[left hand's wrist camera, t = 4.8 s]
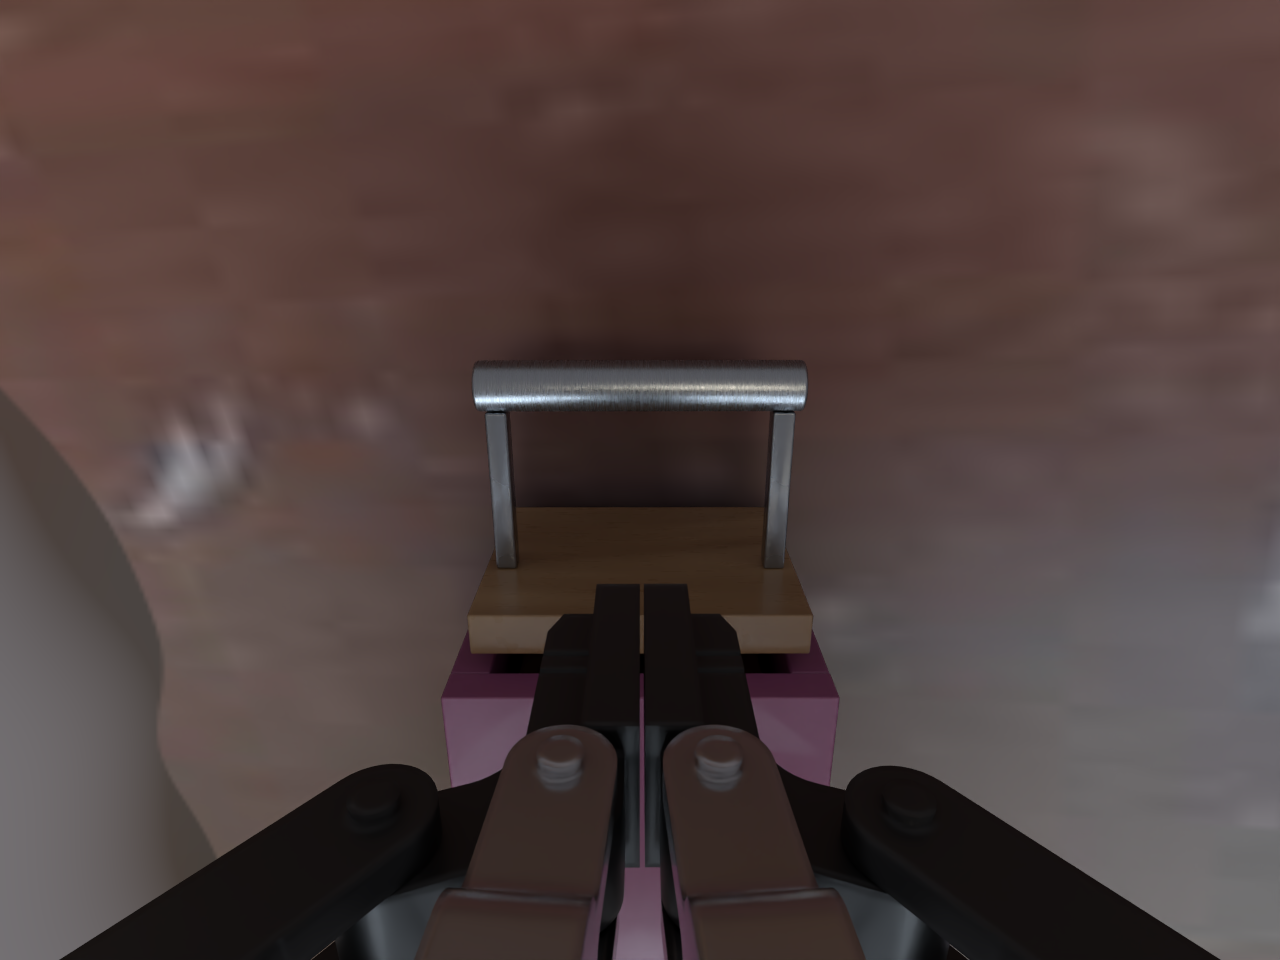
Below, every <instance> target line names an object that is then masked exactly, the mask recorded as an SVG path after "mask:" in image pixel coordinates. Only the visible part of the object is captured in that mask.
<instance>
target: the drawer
mask: <svg viewBox="0 0 1280 960" xmlns="http://www.w3.org/2000/svg"><path fill="white" fill-rule="evenodd" d="M472 395H473V401H474V405H475V407H476V409H477V410H478V411H487V412H486V413H485V425H486V438H487V451H488V463H489V476H490V489H491V501H492V514H493V527H494V539H495V549H494V551H493V554H492V556H491V559H490V561H489V564H488V566H487V569H486V571H485V573H484V576H483V578H482V581H481V583H480V586H479V588H478V591H477V593H476V596H475V598H474V601H473V603H472V605H471V608H470V610H469V613H468V615H467V620H468V630H469V640H470V651H471V653H472V654H524V656H523V659H522V663H521V667H520V671H519V673H540V666H541V661H542V656H543V652H544V647H545V642H546V637H547V632H548V631H549V629H550V628H551V627H552V626H553V625H554V624H555V623H556V622H557V621H558V620H559V619H560V618H561V617H562V616H563V614H593V611H594V602H595V593H596V585H597V584H640V673H644V584H687V586H688V594H689V602H690V611H691V614H720V615H721V616H722V617H723V618H724V619H725V620H726V621H727V622H728V623H729V624H730V625H731V626H732V627H733V628H734V629H735V630H736V632H737V637H738V641H739V646H740V651H741V656H742V660H743V665H744V673H762V672H761V668H760V664H759V660H758V656H757V654H808V653H809V652H810V645H811V634H812V624H813V614H812V612H811V609H810V607H809V604H808V602H807V599H806V597H805V594H804V592H803V589H802V587H801V584H800V582H799V579H798V577H797V575H796V572H795V570H794V567H793V565H792V562H791V560H790V557H789V555H788V552H787V550H786V547H785V546H786V533H787V520H788V507H789V493H790V480H791V467H792V454H793V441H794V428H795V415H796V414H795V412H794V411H801V410H803V409H804V407H805V404H806V401H807V395H808V372H807V367H806V364H805V362H804V361H803V360H478V361H476V362H475V364H474V367H473V371H472ZM510 411H770V423H769V439H768V455H767V471H766V486H765V502H764V507H516V500H515V485H514V469H513V454H512V439H511V424H510Z"/></svg>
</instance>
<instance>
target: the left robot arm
mask: <svg viewBox="0 0 1280 960" xmlns="http://www.w3.org/2000/svg"><path fill="white" fill-rule="evenodd" d="M644 814H645V867H660V879H661V934H662V943H663V953H664V960H968V959H969V960H1220V959H1218V958H1217V957H1215V956H1214V955H1212V954H1211V953H1209V952H1208V951H1206V950H1204V949H1203V948H1201V947H1200V946H1198V945H1197V944H1195V943H1193V942H1192V941H1190V940H1189V939H1187V938H1186V937H1184V936H1182V935H1181V934H1179V933H1178V932H1176V931H1175V930H1173V929H1171V928H1170V927H1168V926H1167V925H1165V924H1164V923H1162V922H1161V921H1159V920H1157V919H1156V918H1154V917H1153V916H1151V915H1150V914H1148V913H1146V912H1145V911H1143V910H1142V909H1140V908H1139V907H1137V906H1135V905H1134V904H1132V903H1131V902H1129V901H1128V900H1126V899H1125V898H1123V897H1121V896H1120V895H1118V894H1117V893H1115V892H1114V891H1112V890H1110V889H1109V888H1107V887H1106V886H1104V885H1103V884H1101V883H1099V882H1098V881H1096V880H1095V879H1093V878H1092V877H1090V876H1088V875H1087V874H1085V873H1084V872H1082V871H1081V870H1079V869H1078V868H1076V867H1074V866H1073V865H1071V864H1070V863H1068V862H1067V861H1065V860H1063V859H1062V858H1060V857H1059V856H1057V855H1056V854H1054V853H1052V852H1051V851H1049V850H1048V849H1046V848H1045V847H1043V846H1042V845H1040V844H1038V843H1037V842H1035V841H1034V840H1032V839H1031V838H1029V837H1027V836H1026V835H1024V834H1023V833H1021V832H1020V831H1018V830H1016V829H1015V828H1013V827H1012V826H1010V825H1009V824H1007V823H1005V822H1004V821H1002V820H1001V819H999V818H998V817H996V816H995V815H993V814H991V813H990V812H988V811H987V810H985V809H984V808H982V807H980V806H979V805H977V804H976V803H974V802H973V801H971V800H969V799H968V798H966V797H965V796H963V795H962V794H960V793H959V792H957V791H955V790H954V789H952V788H951V787H949V786H948V785H946V784H944V783H943V782H941V781H939V780H938V779H936V778H934V777H932V776H930V775H928V774H926V773H923V772H921V771H917V770H914V769H911V768H906V767H900V766H879V767H873V768H870V769H867V770H864V771H862V772H861V773H859V774H857V775H856V776H855V777H854V778H853V779H852V780H851V781H850V783H849V784H848V786H847V789H846V790H842V789H838V788H834V787H830V786H826V785H822V784H818V783H814V782H811V781H808V780H805V779H802V778H800V777H798V776H795V775H793V774H792V773H790V772H788V771H786V770H785V769H783V768H782V767H781V766H779V765H778V764H777V763H776V762H775V759H774V757H773V755H772V752H771V751H770V750H769V748H768V747H767V746H766V745H765V744H764V743H763V742H762V741H761V740H760V738H759V734H758V729H757V725H756V720H755V715H754V711H753V706H752V702H751V697H750V692H749V688H748V683H747V678H746V674H745V673H744V665H743V660H742V656H741V651H740V646H739V641H738V637H737V632H736V630H735V629H734V628H733V627H732V626H731V625H730V624H729V623H728V622H727V621H726V620H725V619H724V618H723V617H722V616H721V615H720V614H691V611H690V602H689V594H688V586H687V584H644ZM625 868H640V584H597V585H596V593H595V602H594V611H593V614H563V616H562V617H561V618H560V619H559V620H558V621H557V622H556V623H555V624H554V625H553V626H552V627H551V628H550V629H549V631H548V632H547V637H546V642H545V647H544V652H543V656H542V661H541V666H540V673H539V676H538V680H537V685H536V690H535V695H534V700H533V705H532V709H531V714H530V719H529V724H528V729H527V734H526V736H525V737H523V738H522V739H520V740H519V741H518V742H517V743H516V744H515V745H514V746H513V747H512V748H511V750H510V751H509V752H508V755H507V757H506V759H505V762H504V765H503V768H502V769H501V770H499V771H498V772H496V773H494V774H492V775H491V776H488V777H486V778H484V779H481V780H479V781H475V782H472V783H469V784H465V785H461V786H457V787H453V788H449V789H445V790H441V791H437V788H436V785H435V783H434V781H433V780H432V778H431V777H430V776H429V775H428V774H426V773H425V772H423V771H422V770H420V769H418V768H415V767H412V766H408V765H403V764H385V765H378V766H373V767H369V768H366V769H363V770H360V771H358V772H355V773H353V774H351V775H349V776H347V777H345V778H344V779H342V780H340V781H339V782H337V783H336V784H334V785H332V786H331V787H329V788H328V789H326V790H325V791H323V792H322V793H320V794H318V795H317V796H315V797H314V798H312V799H311V800H309V801H307V802H306V803H304V804H303V805H301V806H300V807H298V808H296V809H295V810H293V811H292V812H290V813H289V814H287V815H285V816H284V817H282V818H281V819H279V820H278V821H276V822H275V823H273V824H271V825H270V826H268V827H267V828H265V829H264V830H262V831H260V832H259V833H257V834H256V835H254V836H253V837H251V838H249V839H248V840H246V841H245V842H243V843H242V844H240V845H239V846H237V847H235V848H234V849H232V850H231V851H229V852H228V853H226V854H224V855H223V856H221V857H220V858H218V859H217V860H215V861H214V862H212V863H210V864H209V865H207V866H206V867H204V868H203V869H201V870H199V871H198V872H196V873H195V874H193V875H192V876H190V877H188V878H187V879H185V880H184V881H182V882H181V883H179V884H178V885H176V886H174V887H173V888H171V889H170V890H168V891H166V892H165V893H163V894H162V895H160V896H159V897H157V898H156V899H154V900H152V901H151V902H149V903H148V904H146V905H145V906H143V907H141V908H140V909H138V910H137V911H135V912H134V913H132V914H131V915H129V916H127V917H126V918H124V919H123V920H121V921H120V922H118V923H116V924H115V925H113V926H112V927H110V928H109V929H107V930H105V931H104V932H102V933H101V934H99V935H98V936H96V937H94V938H93V939H91V940H90V941H88V942H87V943H85V944H84V945H82V946H80V947H79V948H77V949H76V950H74V951H73V952H71V953H69V954H68V955H66V956H65V957H63V958H62V959H60V960H311V959H312V958H313V957H314V956H316V955H317V954H318V953H319V952H321V951H322V950H323V949H324V948H326V947H327V946H328V945H329V944H330V943H332V942H333V941H334V940H335V942H333V943H332V944H331V945H330V946H328V947H327V948H326V949H325V950H323V951H322V952H321V953H320V954H318V955H317V956H316V957H315V958H313V959H312V960H616V953H617V943H618V934H619V911H620V909H621V907H622V904H623V899H624V882H625ZM950 944H951V945H952V946H953V947H955V948H956V949H957V950H958V951H959V952H961V953H962V954H963V955H964V956H966V957H967V958H968V959H967V958H965V957H964V956H963V955H962V954H960V953H959V952H958V951H957V950H955V949H954V948H953V947H952V946H950Z"/></svg>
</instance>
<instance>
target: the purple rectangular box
mask: <svg viewBox="0 0 1280 960" xmlns="http://www.w3.org/2000/svg"><path fill="white" fill-rule="evenodd" d="M523 656H524V654H472V653H471V651H470V640H469V630H468V631H467V633H466V636H465V639H464V641H463V644H462V646H461V649H460V651H459V654H458V656H457V659H456V661H455V664H454V667H453V669H452V672H451V674H450V676H449V679H448V682H447V684H446V687H445V689H444V692H443V694H442V697H441V703H442V711H443V720H444V728H445V737H446V745H447V754H448V762H449V771H450V779H451V788H453V787H457V786H461V785H465V784H469V783H472V782H475V781H479V780H481V779H484V778H486V777H488V776H491V775H492V774H494V773H496V772H498V771H499V770H501V769H502V768H503V765H504V762H505V759H506V757H507V755H508V752H509V751H510V750H511V748H512V747H513V746H514V745H515V744H516V743H517V742H518V741H519V740H520V739H522V738H523V737H525V736H526V734H527V729H528V724H529V719H530V714H531V709H532V705H533V700H534V695H535V690H536V685H537V680H538V676H539V673H519V671H520V667H521V663H522V659H523ZM757 656H758V660H759V664H760V668H761V672H762V673H745V674H746V678H747V683H748V688H749V692H750V697H751V702H752V706H753V711H754V715H755V720H756V725H757V729H758V734H759V738H760V740H761V741H762V742H763V743H764V744H765V745H766V746H767V747H768V748H769V750H770V751H771V752H772V755H773V757H774V759H775V762H776V763H777V764H778V765H779V766H781V767H782V768H783V769H785V770H786V771H788V772H790V773H792V774H793V775H795V776H798V777H800V778H802V779H805V780H808V781H811V782H814V783H818V784H822V785H826V786H830V777H831V768H832V760H833V751H834V742H835V733H836V725H837V716H838V707H839V695H838V693H837V690H836V688H835V685H834V683H833V680H832V677H831V675H830V674H829V671H828V668H827V666H826V663H825V661H824V658H823V656H822V653H821V650H820V648H819V645H818V643H817V640H816V638H815V635H814V632H813V630H812V634H811V645H810V652H809V653H808V654H757ZM616 960H664V953H663V943H662V934H661V879H660V867H645V814H644V673H640V868H625V882H624V899H623V904H622V907H621V909H620V911H619V934H618V943H617V953H616Z"/></svg>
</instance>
